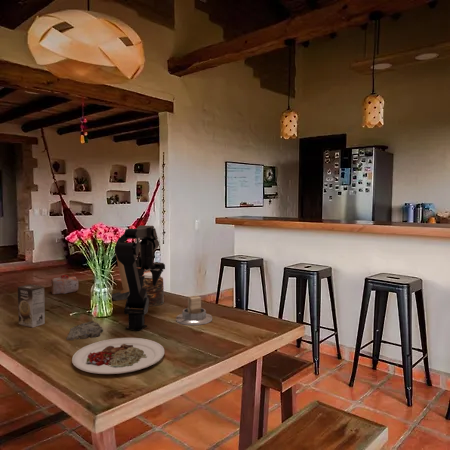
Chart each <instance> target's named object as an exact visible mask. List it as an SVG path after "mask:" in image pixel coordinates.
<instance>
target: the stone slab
mask: <svg viewBox="0 0 450 450" xmlns="http://www.w3.org/2000/svg"><path fill="white" fill-rule="evenodd" d="M103 331H104V330H103V327H102V326H101V325H100V324H99V323H97V322H95V321H94V320H91V321H88V322H84V323H81V324H77V325H76V326H73V327H71V328H70V329H69V333H67V335H66V336H67V337H65V338H66V341H75V340H74V339H76V340H83V339H88V338H89V337H90V338H91V339H92V338H98V337H101V333H102V332H103ZM79 338H80V339H79Z"/></svg>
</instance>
